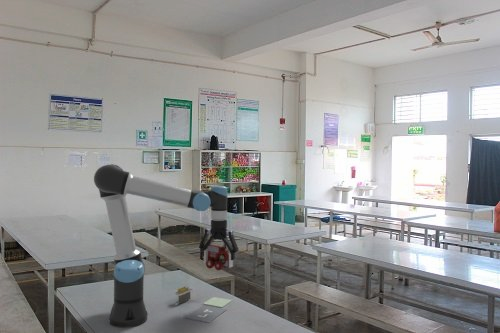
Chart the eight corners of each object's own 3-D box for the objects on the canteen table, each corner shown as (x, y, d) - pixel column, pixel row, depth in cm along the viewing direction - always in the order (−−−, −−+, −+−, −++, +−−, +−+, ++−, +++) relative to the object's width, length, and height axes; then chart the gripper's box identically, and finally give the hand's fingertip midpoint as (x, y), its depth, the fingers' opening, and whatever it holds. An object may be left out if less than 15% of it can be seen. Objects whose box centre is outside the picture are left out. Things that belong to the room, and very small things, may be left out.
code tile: (208, 322, 166) (208, 322, 166) (183, 317, 171) (183, 317, 171) (226, 310, 180) (226, 309, 180) (203, 305, 185) (203, 305, 185)
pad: (222, 307, 183) (222, 306, 183) (203, 304, 187) (203, 303, 187) (232, 301, 192) (232, 300, 192) (213, 297, 196) (213, 297, 196)
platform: (160, 304, 187) (160, 290, 187) (186, 294, 202) (186, 281, 202) (180, 310, 181) (180, 295, 181) (205, 298, 196) (205, 285, 196)
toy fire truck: (224, 271, 183) (224, 248, 183) (203, 267, 190) (203, 245, 190) (233, 268, 189) (233, 246, 189) (212, 264, 196) (212, 242, 196)
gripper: (246, 220, 188) (245, 266, 188) (200, 216, 198) (199, 260, 198) (239, 222, 181) (238, 270, 181) (192, 218, 191) (191, 264, 191)
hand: (218, 265), depth 189 cm, fingers closed on toy fire truck, 12 cm apart
